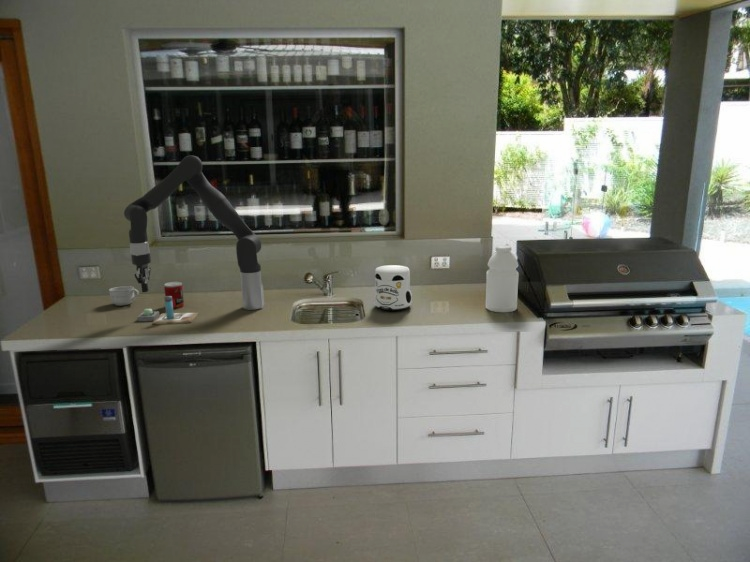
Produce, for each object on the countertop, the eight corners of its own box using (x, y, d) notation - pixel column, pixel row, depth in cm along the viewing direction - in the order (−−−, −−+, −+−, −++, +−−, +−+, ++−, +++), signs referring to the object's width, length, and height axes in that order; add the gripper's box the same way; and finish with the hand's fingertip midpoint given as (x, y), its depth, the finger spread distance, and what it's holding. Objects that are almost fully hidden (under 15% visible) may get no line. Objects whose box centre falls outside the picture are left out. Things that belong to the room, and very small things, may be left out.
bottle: (479, 308, 249) (480, 247, 242) (495, 301, 259) (497, 242, 251) (507, 315, 240) (509, 251, 232) (523, 307, 249) (526, 246, 242)
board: (198, 314, 249) (198, 311, 249) (191, 322, 237) (190, 320, 237) (162, 315, 248) (161, 312, 248) (153, 324, 237) (152, 321, 236)
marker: (175, 316, 243) (172, 295, 241) (172, 318, 240) (170, 297, 238) (167, 317, 242) (165, 296, 241) (165, 319, 239) (163, 297, 238)
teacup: (106, 306, 264) (103, 289, 261) (124, 299, 273) (121, 284, 271) (128, 309, 258) (126, 292, 256) (146, 302, 268) (144, 286, 266)
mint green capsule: (154, 314, 246) (153, 308, 245) (151, 317, 242) (150, 310, 242) (145, 315, 246) (144, 308, 245) (142, 317, 242) (142, 311, 241)
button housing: (159, 315, 248) (159, 311, 247) (154, 320, 241) (153, 316, 241) (143, 316, 248) (143, 311, 247) (137, 321, 241) (137, 316, 240)
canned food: (178, 309, 257) (176, 286, 254) (163, 308, 258) (160, 285, 255) (187, 304, 264) (185, 281, 261) (172, 303, 265) (169, 281, 263)
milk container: (378, 314, 243) (377, 274, 239) (370, 303, 260) (369, 265, 255) (416, 311, 247) (416, 272, 242) (406, 300, 263) (406, 263, 258)
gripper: (137, 249, 243) (142, 287, 248) (125, 256, 230) (130, 296, 235) (154, 249, 243) (159, 287, 248) (143, 255, 231) (148, 295, 235)
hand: (145, 291), depth 241 cm, fingers closed
